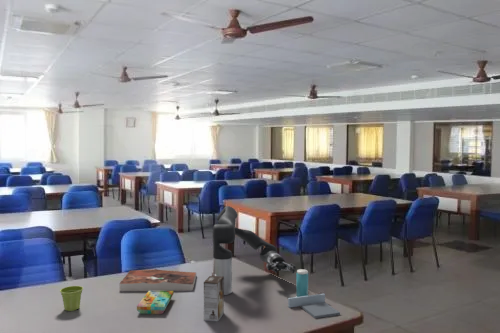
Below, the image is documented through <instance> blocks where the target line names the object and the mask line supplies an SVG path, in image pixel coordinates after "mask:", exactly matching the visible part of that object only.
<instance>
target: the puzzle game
mask: <svg viewBox="0 0 500 333" xmlns="http://www.w3.org/2000/svg"><path fill="white" fill-rule="evenodd" d="M173 296H174V291H146V294H145V295H144V296H143V297H142V299H141V300H140V302H139V303H138V304H137V305H136V311H138V313H139V314H142V315H143V314H145V315H163V314H164V312H165V311H166V309H167V306H168V305H169V304H170V301H171V300H172V298H173Z"/></svg>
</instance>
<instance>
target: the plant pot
mask: <svg viewBox="0 0 500 333" xmlns="http://www.w3.org/2000/svg"><path fill="white" fill-rule="evenodd" d="M83 290H84V286H81V285H69V286H66V287H63V288H61V289H59V292H60V294H61V297H62V302H63V309H64V310H65V311H68V312H73V311H74V312H75V311H77V309H80V307H81V299H82V294H83Z"/></svg>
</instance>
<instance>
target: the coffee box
mask: <svg viewBox="0 0 500 333" xmlns="http://www.w3.org/2000/svg"><path fill="white" fill-rule="evenodd" d="M207 277H208V278H206V279H205V280H204V281H203V321H210V322H219V321H220V319H221V318H222V316H223V315H224V313H225V295H224V276H212V275H209V276H207Z"/></svg>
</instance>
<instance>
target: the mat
mask: <svg viewBox="0 0 500 333" xmlns="http://www.w3.org/2000/svg"><path fill="white" fill-rule="evenodd" d="M300 308H301V309H302V310H304V311H305V312H306V313H307V314H308V315H309V316H311V317H312V318H313V319H320V318H327V317H333V316H340V315H341V312H340V311H339V310H337V309H336V308H334V307H332V306H331V305H329V304H328V303H327V302H326V301H325V302H322V303H314V304H307V305H301V306H300Z"/></svg>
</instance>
